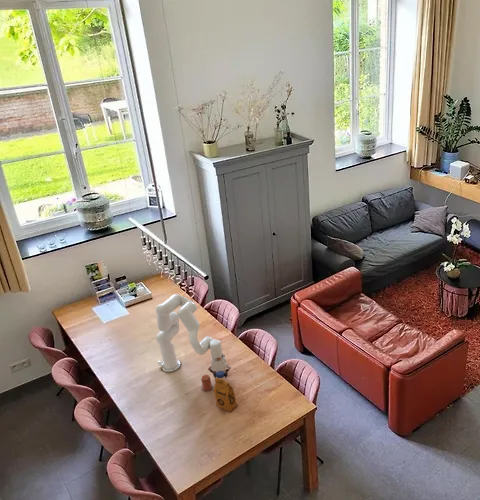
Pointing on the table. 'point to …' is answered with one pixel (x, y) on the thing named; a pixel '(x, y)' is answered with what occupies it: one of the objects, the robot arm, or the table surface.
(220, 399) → the coffee package
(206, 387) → the jar
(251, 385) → the table surface
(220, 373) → the lid
